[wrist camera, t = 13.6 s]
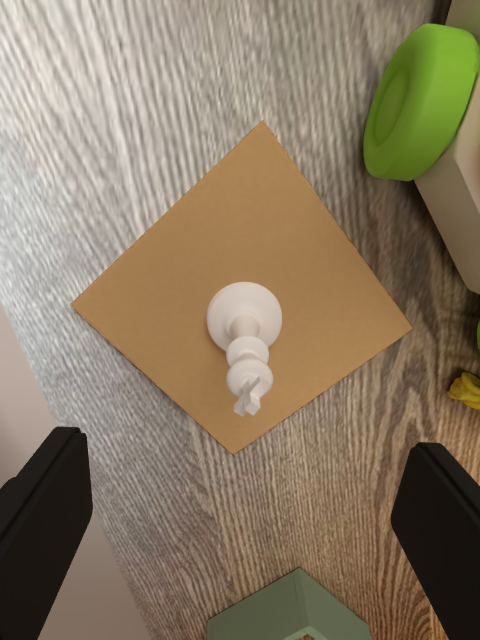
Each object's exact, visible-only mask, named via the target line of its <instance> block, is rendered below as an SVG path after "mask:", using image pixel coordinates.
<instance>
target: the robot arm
mask: <svg viewBox="0 0 480 640" xmlns="http://www.w3.org/2000/svg"><path fill="white" fill-rule="evenodd" d="M92 510H93V503H92V491H91V480H90V469H89V457H88V446H87V436H86V434H85V433H81V431H80V429H79V428H78V427H55V428H54V429H53V430H52V432H51V433H50V434H49V436H48V437H47V438H46V439H45V440H44V442H43V443H42V444H41V446H40V447H39V448H38V449H37V451H36V452H35V453H34V454H33V456H32V457H31V458H30V459H29V461H28V462H27V463H26V465H25V466H24V467H23V469H22V470H21V471H20V472H19V473H18V475H17V476H16V477H13V478H11V479H10V480H8V481H7V482H6V483H5V484H4V485H3V486H2V488H1V489H0V640H37V639H38V637H39V635H40V632H41V630H42V628H43V626H44V623H45V621H46V619H47V616H48V614H49V612H50V610H51V608H52V605H53V603H54V600H55V598H56V596H57V594H58V592H59V589H60V587H61V585H62V583H63V580H64V578H65V576H66V574H67V571H68V569H69V567H70V565H71V562H72V560H73V558H74V556H75V553H76V551H77V549H78V547H79V544H80V542H81V540H82V537H83V535H84V533H85V531H86V528H87V525H88V524H89V522H90V519H91V515H92ZM391 525H392V528H393V530H394V532H395V534H396V536H397V538H398V540H399V542H400V544H401V546H402V548H403V550H404V552H405V554H406V556H407V558H408V560H409V562H410V564H411V566H412V568H413V570H414V572H415V574H416V576H417V578H418V580H419V582H420V583H421V585H422V587H423V589H424V591H425V593H426V595H427V597H428V599H429V601H430V603H431V605H432V607H433V609H434V611H435V613H436V615H437V617H438V619H439V621H440V623H441V625H442V627H443V629H444V631H445V633H446V635H447V637H448V639H449V640H480V486H479V485H478V484H477V483H476V482H475V480H474V479H473V478H472V477H471V476H470V475H469V474H468V473H467V471H466V470H465V469H464V468H463V467H462V466H461V465H460V464H459V463H458V461H457V460H456V459H455V458H454V457H453V456H452V455H451V454H450V453H449V451H448V450H447V449H446V448H445V447H444V446H443V445H442V444H440V443H427V442H419V443H417V444H416V446H415V447H413V448H411V450H410V453H409V456H408V459H407V463H406V466H405V469H404V473H403V476H402V480H401V483H400V486H399V490H398V493H397V496H396V500H395V503H394V506H393V510H392V513H391Z"/></svg>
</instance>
